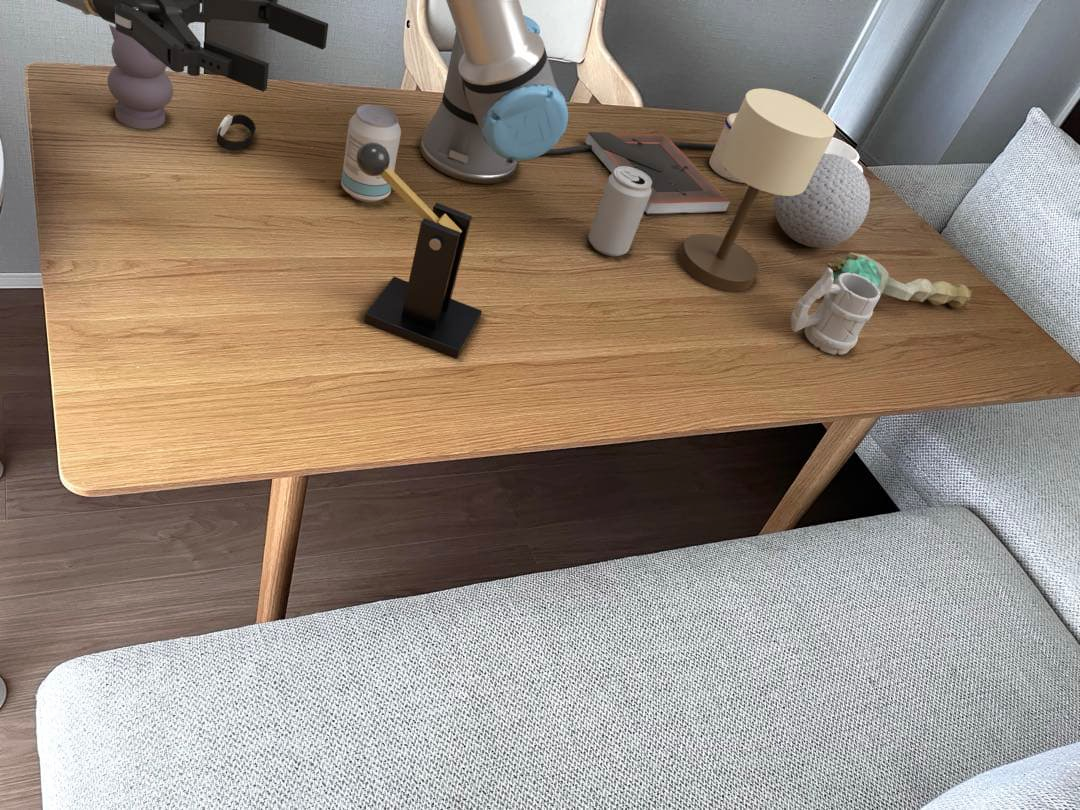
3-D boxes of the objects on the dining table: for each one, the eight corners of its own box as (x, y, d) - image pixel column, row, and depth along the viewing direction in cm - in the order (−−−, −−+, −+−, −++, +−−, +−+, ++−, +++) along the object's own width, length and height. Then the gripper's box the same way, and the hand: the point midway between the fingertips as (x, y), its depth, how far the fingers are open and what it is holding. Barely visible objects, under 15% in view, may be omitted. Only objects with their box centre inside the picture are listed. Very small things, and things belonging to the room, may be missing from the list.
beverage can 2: (615, 264, 133) (643, 193, 125) (579, 243, 135) (604, 172, 127) (634, 249, 138) (662, 180, 130) (599, 228, 139) (624, 159, 131)
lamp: (730, 242, 147) (803, 92, 130) (770, 293, 139) (853, 140, 122) (662, 241, 142) (729, 84, 125) (700, 294, 134) (776, 133, 117)
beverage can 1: (396, 190, 132) (410, 114, 124) (378, 212, 127) (391, 134, 119) (352, 173, 132) (363, 96, 124) (332, 194, 127) (342, 115, 119)
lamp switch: (344, 163, 100) (364, 143, 97) (358, 150, 102) (377, 130, 100) (437, 257, 104) (457, 240, 102) (447, 242, 107) (467, 225, 105)
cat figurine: (185, 120, 131) (186, 38, 123) (148, 138, 125) (147, 54, 117) (134, 96, 131) (132, 14, 124) (95, 114, 125) (90, 28, 118)
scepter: (950, 264, 156) (820, 246, 141) (992, 274, 148) (860, 256, 134) (935, 313, 158) (806, 301, 144) (976, 326, 151) (844, 313, 137)
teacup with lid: (720, 182, 162) (747, 123, 154) (699, 155, 168) (724, 96, 160) (775, 186, 167) (804, 129, 159) (752, 160, 173) (779, 103, 165)
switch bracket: (363, 322, 109) (382, 217, 99) (392, 284, 116) (411, 182, 106) (457, 358, 109) (484, 257, 99) (480, 318, 116) (508, 220, 106)
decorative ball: (859, 259, 155) (905, 182, 145) (802, 271, 147) (847, 190, 137) (799, 209, 163) (839, 133, 153) (742, 218, 154) (780, 138, 145)
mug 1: (778, 190, 166) (803, 140, 159) (800, 180, 172) (826, 131, 165) (827, 222, 162) (855, 172, 155) (849, 211, 168) (877, 161, 161)
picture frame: (584, 144, 159) (645, 215, 146) (588, 131, 157) (651, 202, 145) (660, 145, 167) (724, 213, 154) (665, 133, 165) (730, 200, 153)
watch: (231, 125, 133) (232, 101, 130) (262, 135, 133) (264, 112, 131) (207, 147, 127) (207, 123, 125) (239, 158, 127) (240, 134, 125)
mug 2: (860, 358, 133) (903, 293, 125) (790, 353, 129) (830, 285, 121) (837, 324, 138) (877, 259, 130) (770, 318, 134) (807, 251, 126)
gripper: (175, -12, 107) (342, 53, 107) (32, 54, 89) (235, 133, 88) (176, -79, 103) (351, -11, 102) (25, -25, 84) (239, 59, 83)
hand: (297, 56), depth 95 cm, fingers open, 13 cm apart
